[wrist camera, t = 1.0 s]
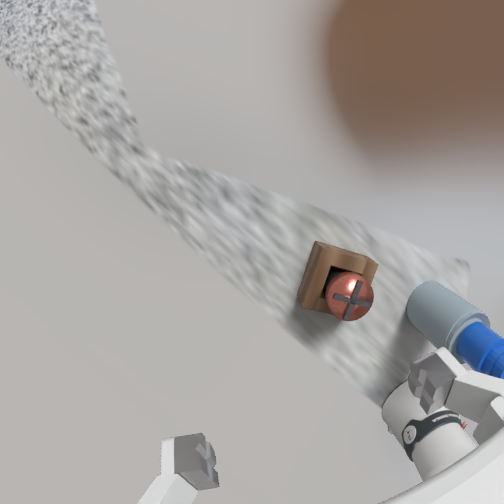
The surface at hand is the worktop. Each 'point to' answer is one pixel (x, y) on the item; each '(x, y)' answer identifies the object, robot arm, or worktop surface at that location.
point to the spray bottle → (456, 328)
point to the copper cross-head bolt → (347, 294)
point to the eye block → (319, 267)
